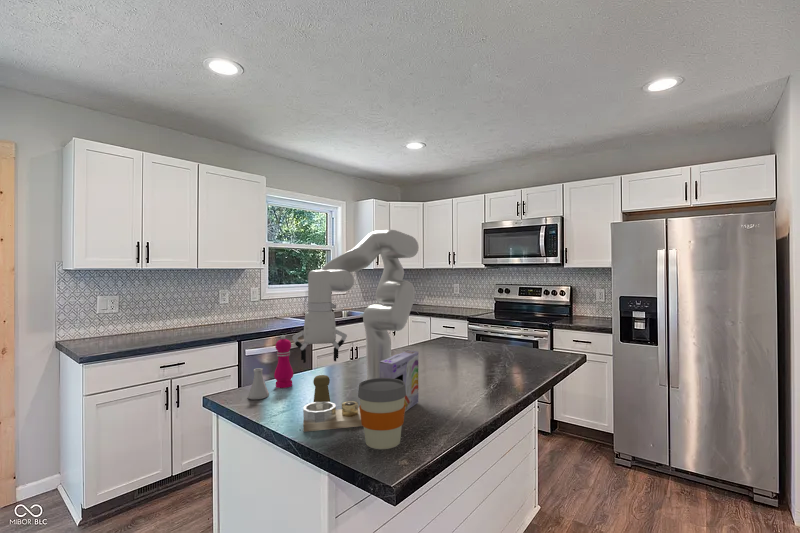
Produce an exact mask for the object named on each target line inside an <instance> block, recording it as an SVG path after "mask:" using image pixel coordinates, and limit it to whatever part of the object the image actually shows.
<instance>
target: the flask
mask: <svg viewBox="0 0 800 533" xmlns="http://www.w3.org/2000/svg"><path fill="white" fill-rule="evenodd" d="M263 371H264V368H261V367H260V368H258V367H257V368H254V369H253V370H252V372H253V374H254V376H253V380H252V385H251V387H250V390H249V393H248V395H247V399H249V400H263V399H265V398H268V397H269V396H270V392H269V390H268V387H267V386H266V383H265V380H264V376H263Z"/></svg>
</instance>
